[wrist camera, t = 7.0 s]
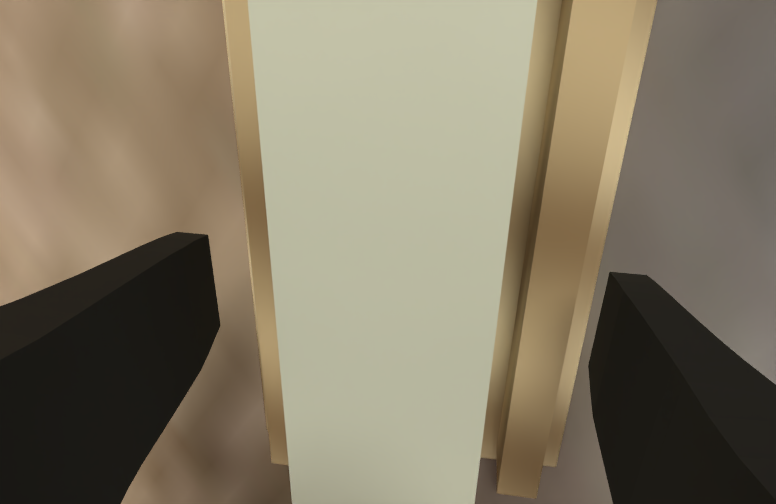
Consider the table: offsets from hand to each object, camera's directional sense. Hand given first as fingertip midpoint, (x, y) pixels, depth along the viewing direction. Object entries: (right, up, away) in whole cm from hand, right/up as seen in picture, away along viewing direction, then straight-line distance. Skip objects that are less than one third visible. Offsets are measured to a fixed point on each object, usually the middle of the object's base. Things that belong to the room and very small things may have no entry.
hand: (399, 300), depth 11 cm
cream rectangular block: (0, +2, +3) cm, 4 cm away
